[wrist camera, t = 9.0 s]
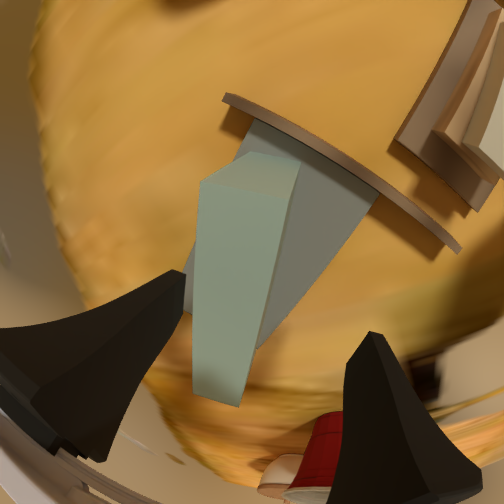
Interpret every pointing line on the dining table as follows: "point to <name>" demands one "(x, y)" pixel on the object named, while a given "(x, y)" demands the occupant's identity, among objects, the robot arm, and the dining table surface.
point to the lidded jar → (279, 476)
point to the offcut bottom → (470, 98)
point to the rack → (414, 126)
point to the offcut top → (490, 114)
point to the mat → (302, 219)
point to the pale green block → (236, 268)
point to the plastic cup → (318, 462)
